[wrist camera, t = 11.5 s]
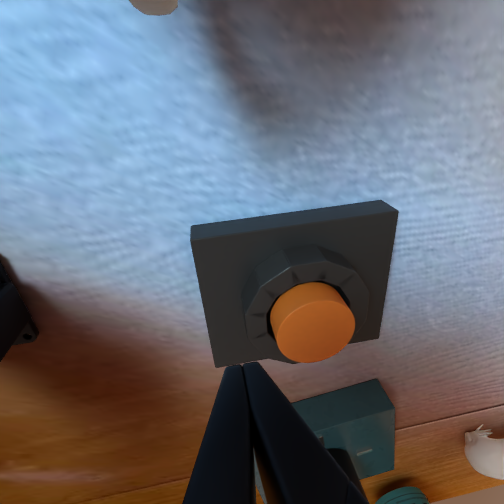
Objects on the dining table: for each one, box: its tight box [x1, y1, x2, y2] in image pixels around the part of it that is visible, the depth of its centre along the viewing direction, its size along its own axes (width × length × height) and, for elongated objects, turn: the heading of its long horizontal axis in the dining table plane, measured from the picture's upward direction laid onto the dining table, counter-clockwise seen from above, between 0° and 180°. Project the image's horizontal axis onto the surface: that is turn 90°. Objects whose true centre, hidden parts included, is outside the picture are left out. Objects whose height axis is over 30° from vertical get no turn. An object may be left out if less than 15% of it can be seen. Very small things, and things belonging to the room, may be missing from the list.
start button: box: [270, 282, 355, 363], centre depth 18 cm, size 4×4×2 cm
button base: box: [190, 200, 399, 368], centre depth 20 cm, size 12×10×4 cm
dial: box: [327, 448, 368, 501], centre depth 26 cm, size 4×4×4 cm
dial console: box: [253, 379, 395, 504], centre depth 29 cm, size 13×10×3 cm
